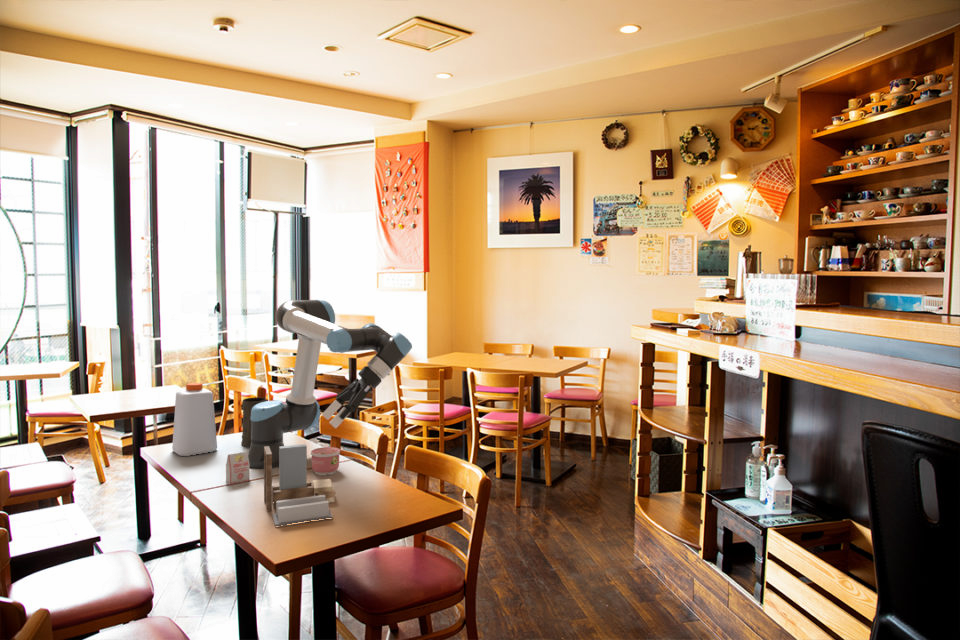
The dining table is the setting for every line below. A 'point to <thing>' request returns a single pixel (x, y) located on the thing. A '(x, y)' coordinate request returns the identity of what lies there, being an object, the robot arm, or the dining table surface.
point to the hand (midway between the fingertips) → (328, 421)
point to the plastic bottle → (194, 421)
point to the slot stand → (301, 510)
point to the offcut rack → (275, 494)
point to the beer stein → (248, 418)
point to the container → (325, 460)
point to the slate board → (292, 466)
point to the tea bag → (237, 468)
